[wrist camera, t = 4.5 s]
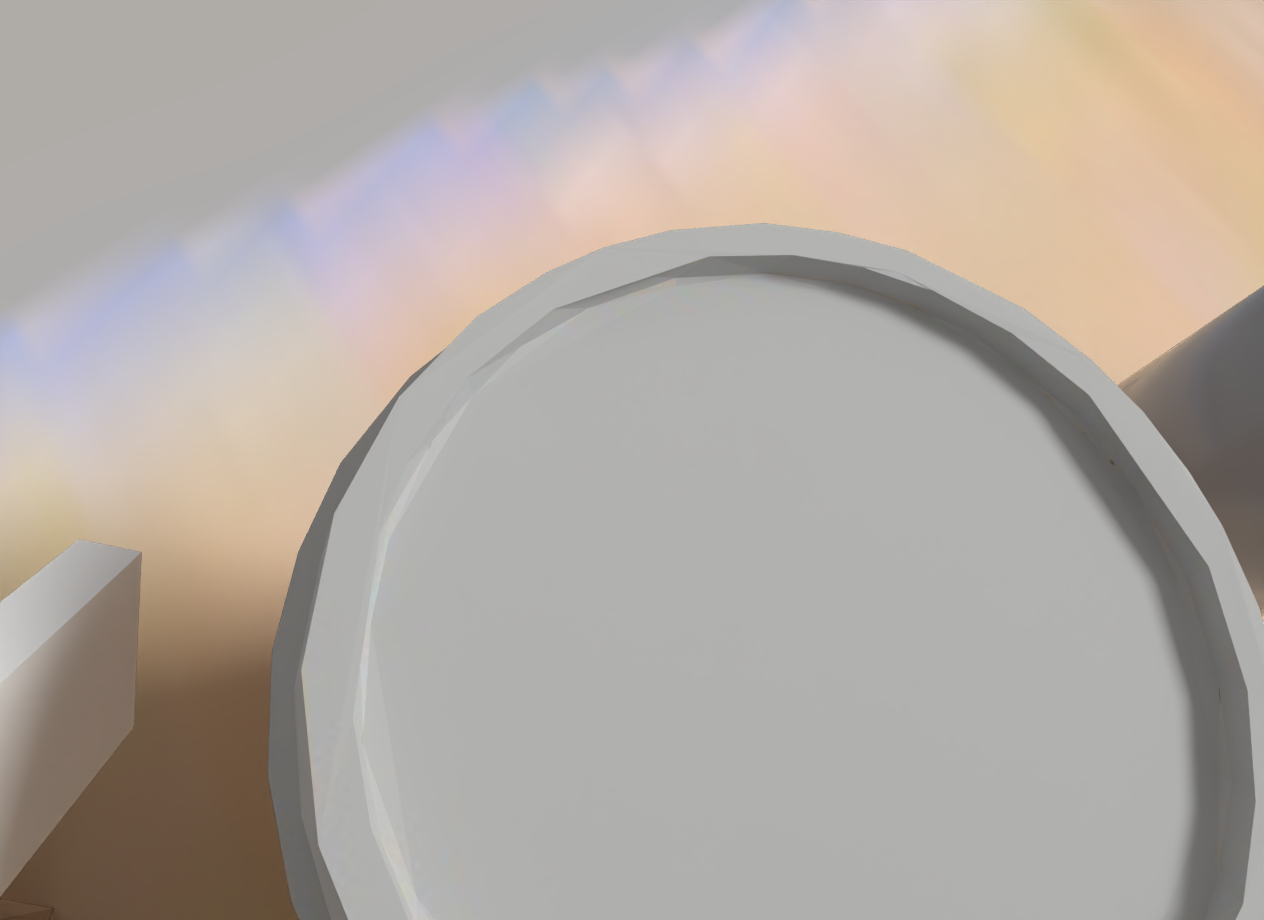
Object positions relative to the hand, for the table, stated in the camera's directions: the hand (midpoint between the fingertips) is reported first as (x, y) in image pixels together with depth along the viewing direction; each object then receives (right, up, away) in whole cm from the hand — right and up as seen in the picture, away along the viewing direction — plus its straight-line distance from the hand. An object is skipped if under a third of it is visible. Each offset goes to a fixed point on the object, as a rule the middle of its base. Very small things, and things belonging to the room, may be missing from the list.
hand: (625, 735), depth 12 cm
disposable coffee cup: (0, -2, +7) cm, 7 cm away
